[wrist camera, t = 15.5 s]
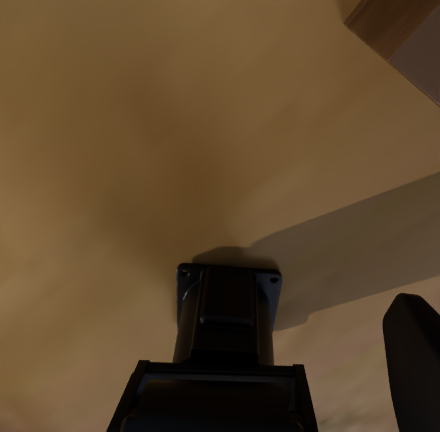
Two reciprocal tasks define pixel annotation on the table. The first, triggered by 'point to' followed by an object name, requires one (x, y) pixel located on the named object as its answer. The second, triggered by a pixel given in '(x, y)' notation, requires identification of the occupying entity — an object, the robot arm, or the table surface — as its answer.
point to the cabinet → (403, 38)
